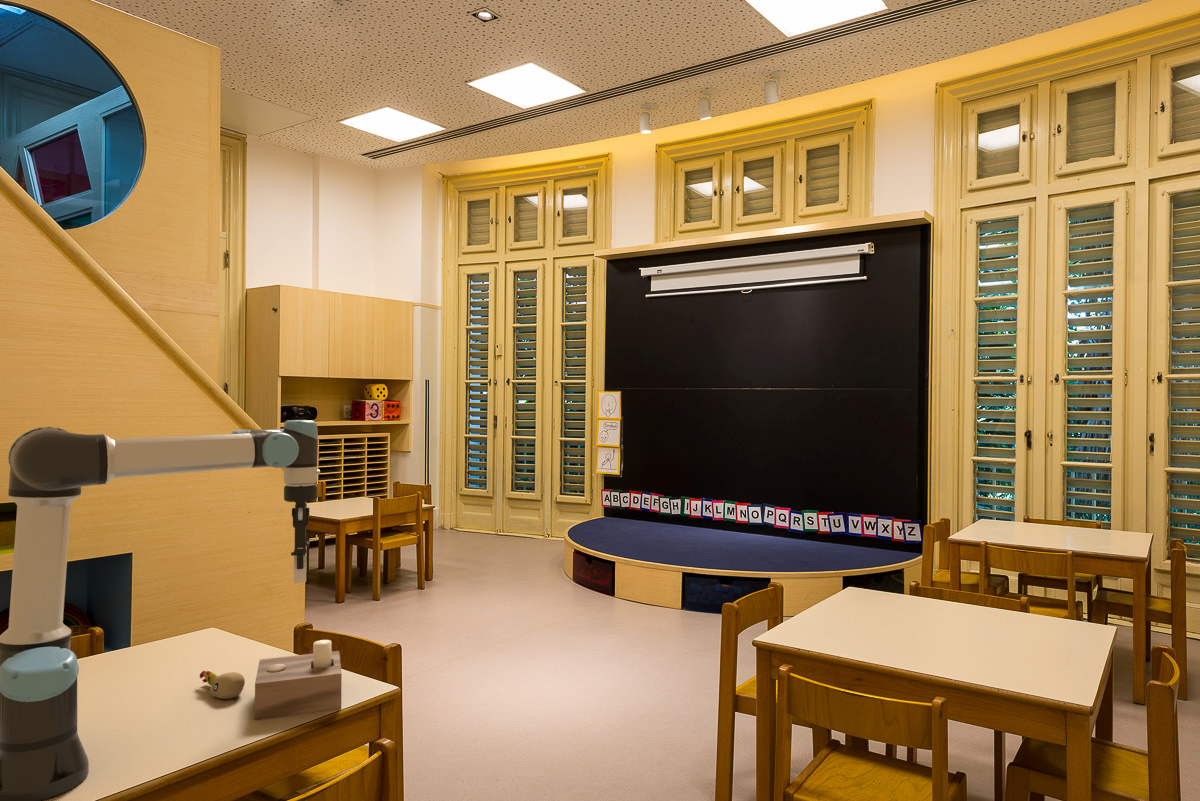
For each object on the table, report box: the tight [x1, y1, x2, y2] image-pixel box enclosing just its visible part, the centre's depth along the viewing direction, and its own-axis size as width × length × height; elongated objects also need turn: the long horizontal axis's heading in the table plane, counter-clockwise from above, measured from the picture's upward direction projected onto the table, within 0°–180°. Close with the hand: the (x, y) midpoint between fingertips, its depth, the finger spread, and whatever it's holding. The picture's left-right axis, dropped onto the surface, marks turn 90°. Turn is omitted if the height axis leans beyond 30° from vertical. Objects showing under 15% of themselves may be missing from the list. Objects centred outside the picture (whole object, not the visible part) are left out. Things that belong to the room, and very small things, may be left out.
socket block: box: [254, 650, 343, 721], centre depth 175 cm, size 16×18×8 cm
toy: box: [199, 670, 246, 700], centre depth 180 cm, size 6×7×15 cm
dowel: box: [312, 639, 333, 668], centre depth 177 cm, size 4×4×8 cm
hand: (300, 577), depth 181 cm, fingers open, 9 cm apart
